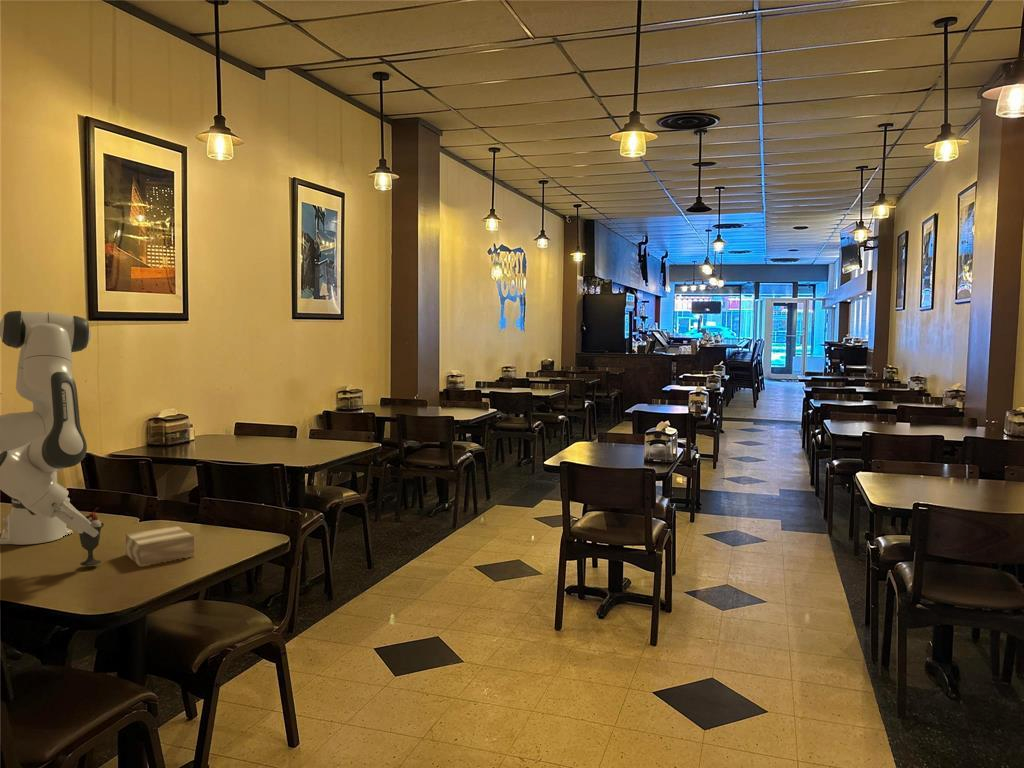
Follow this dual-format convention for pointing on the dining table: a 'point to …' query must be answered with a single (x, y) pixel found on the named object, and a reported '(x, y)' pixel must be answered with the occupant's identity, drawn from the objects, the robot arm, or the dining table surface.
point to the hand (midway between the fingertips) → (92, 531)
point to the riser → (159, 545)
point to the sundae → (91, 540)
